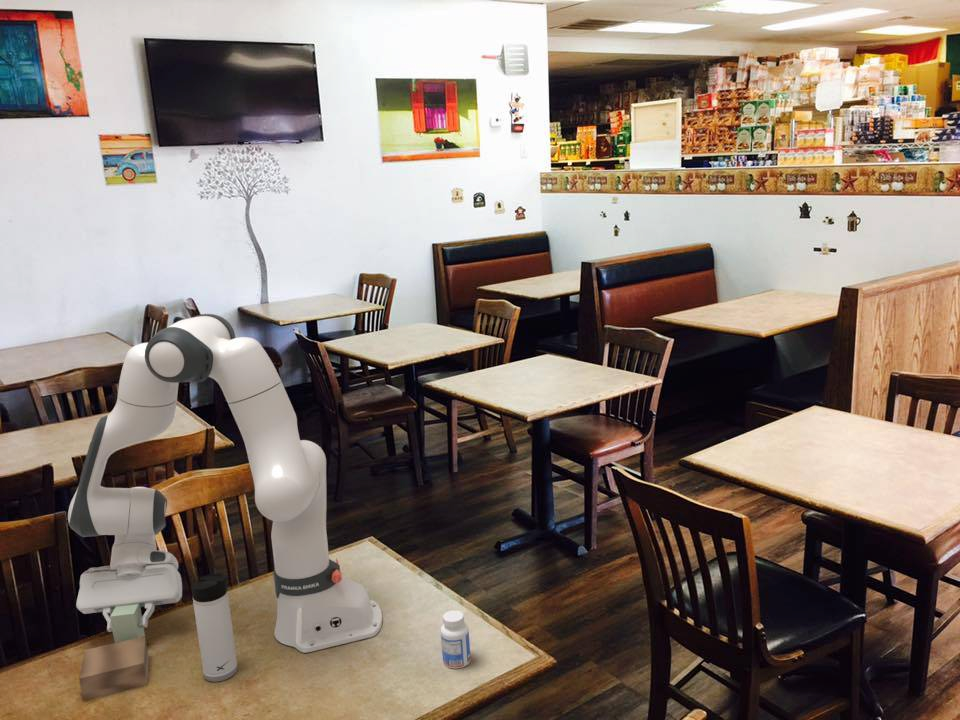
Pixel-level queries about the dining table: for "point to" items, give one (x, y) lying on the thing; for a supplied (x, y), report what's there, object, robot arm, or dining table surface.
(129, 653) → the walnut block
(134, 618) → the sage block
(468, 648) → the pill bottle
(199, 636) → the travel mug
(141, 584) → the robot arm
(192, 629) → the dining table surface
